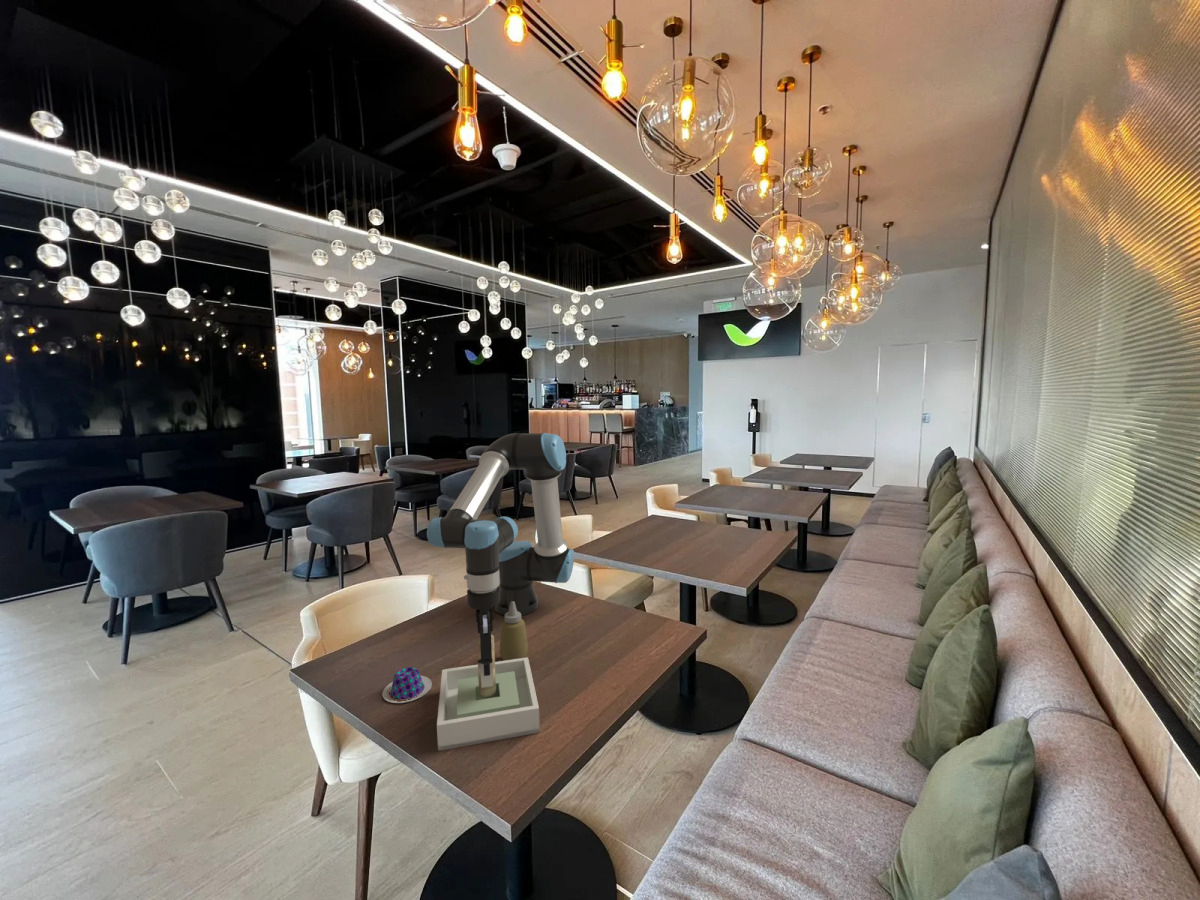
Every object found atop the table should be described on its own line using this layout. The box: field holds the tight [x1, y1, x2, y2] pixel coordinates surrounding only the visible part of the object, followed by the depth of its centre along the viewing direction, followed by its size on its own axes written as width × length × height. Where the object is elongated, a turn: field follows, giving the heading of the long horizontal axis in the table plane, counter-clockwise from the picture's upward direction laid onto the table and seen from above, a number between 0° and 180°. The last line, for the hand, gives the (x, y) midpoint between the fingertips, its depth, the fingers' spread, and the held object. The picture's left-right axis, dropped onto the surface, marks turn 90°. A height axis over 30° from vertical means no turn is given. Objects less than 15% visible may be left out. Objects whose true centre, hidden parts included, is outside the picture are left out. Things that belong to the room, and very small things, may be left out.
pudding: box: [382, 666, 433, 704], centre depth 128 cm, size 12×12×5 cm
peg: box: [476, 633, 496, 698], centre depth 119 cm, size 4×4×14 cm
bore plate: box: [457, 671, 520, 719], centre depth 120 cm, size 14×14×4 cm
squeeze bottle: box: [499, 601, 529, 661], centre depth 140 cm, size 8×8×18 cm
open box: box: [436, 656, 541, 752], centre depth 120 cm, size 22×22×6 cm
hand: (486, 680), depth 119 cm, fingers closed on peg, 4 cm apart
